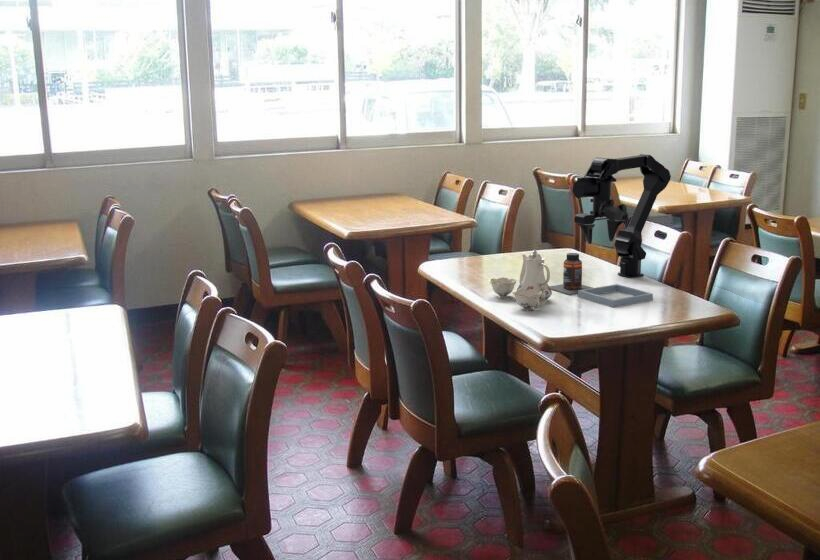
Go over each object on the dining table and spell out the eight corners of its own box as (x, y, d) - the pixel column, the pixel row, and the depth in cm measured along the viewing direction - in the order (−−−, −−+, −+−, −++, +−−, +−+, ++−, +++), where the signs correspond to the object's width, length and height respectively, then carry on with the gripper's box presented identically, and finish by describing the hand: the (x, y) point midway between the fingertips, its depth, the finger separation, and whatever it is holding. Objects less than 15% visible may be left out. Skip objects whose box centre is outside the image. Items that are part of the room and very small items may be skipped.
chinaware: (481, 300, 286) (476, 249, 281) (526, 289, 292) (522, 239, 287) (526, 320, 261) (522, 265, 256) (575, 308, 267) (571, 254, 262)
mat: (574, 283, 298) (574, 282, 298) (598, 290, 288) (598, 289, 288) (545, 288, 293) (545, 286, 293) (569, 295, 283) (569, 293, 282)
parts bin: (616, 290, 288) (616, 284, 288) (652, 300, 274) (652, 293, 274) (578, 296, 280) (578, 290, 280) (613, 307, 267) (613, 300, 266)
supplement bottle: (584, 287, 291) (585, 253, 289) (577, 290, 286) (577, 256, 284) (567, 285, 294) (568, 251, 292) (559, 288, 290) (560, 254, 287)
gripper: (596, 200, 285) (595, 249, 288) (640, 196, 294) (638, 243, 297) (573, 197, 294) (572, 244, 298) (616, 193, 303) (615, 238, 307)
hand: (600, 242), depth 300 cm, fingers open, 9 cm apart
